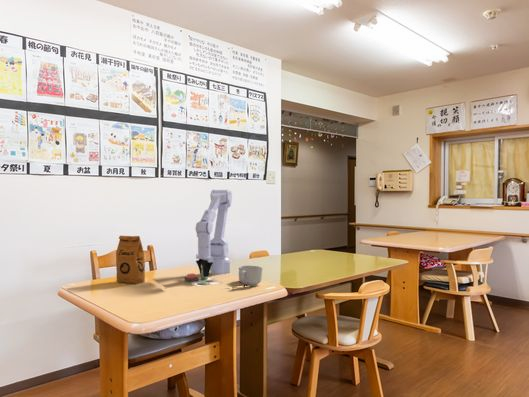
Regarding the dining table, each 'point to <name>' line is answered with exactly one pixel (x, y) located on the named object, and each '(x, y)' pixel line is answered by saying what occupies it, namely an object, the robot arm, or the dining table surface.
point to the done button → (191, 276)
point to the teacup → (250, 275)
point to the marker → (203, 275)
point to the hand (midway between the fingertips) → (204, 275)
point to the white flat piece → (202, 281)
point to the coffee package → (130, 260)
